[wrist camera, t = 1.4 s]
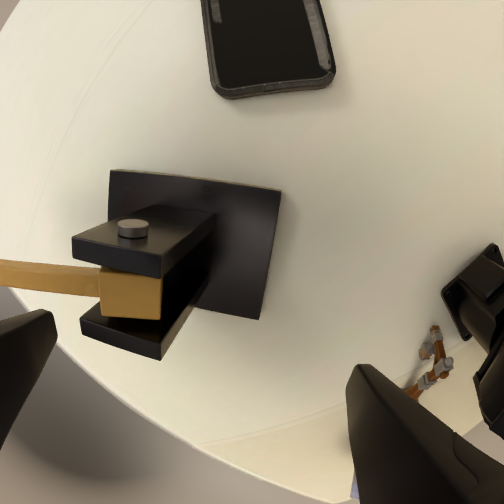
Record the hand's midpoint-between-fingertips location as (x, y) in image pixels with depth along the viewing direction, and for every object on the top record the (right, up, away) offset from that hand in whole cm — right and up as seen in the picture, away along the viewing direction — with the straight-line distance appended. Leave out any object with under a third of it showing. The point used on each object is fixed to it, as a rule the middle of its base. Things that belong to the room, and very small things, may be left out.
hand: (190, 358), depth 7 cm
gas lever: (-9, +2, +6) cm, 11 cm away
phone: (+2, +20, +7) cm, 22 cm away
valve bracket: (-3, +4, +13) cm, 14 cm away
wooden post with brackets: (+16, -7, +14) cm, 22 cm away
